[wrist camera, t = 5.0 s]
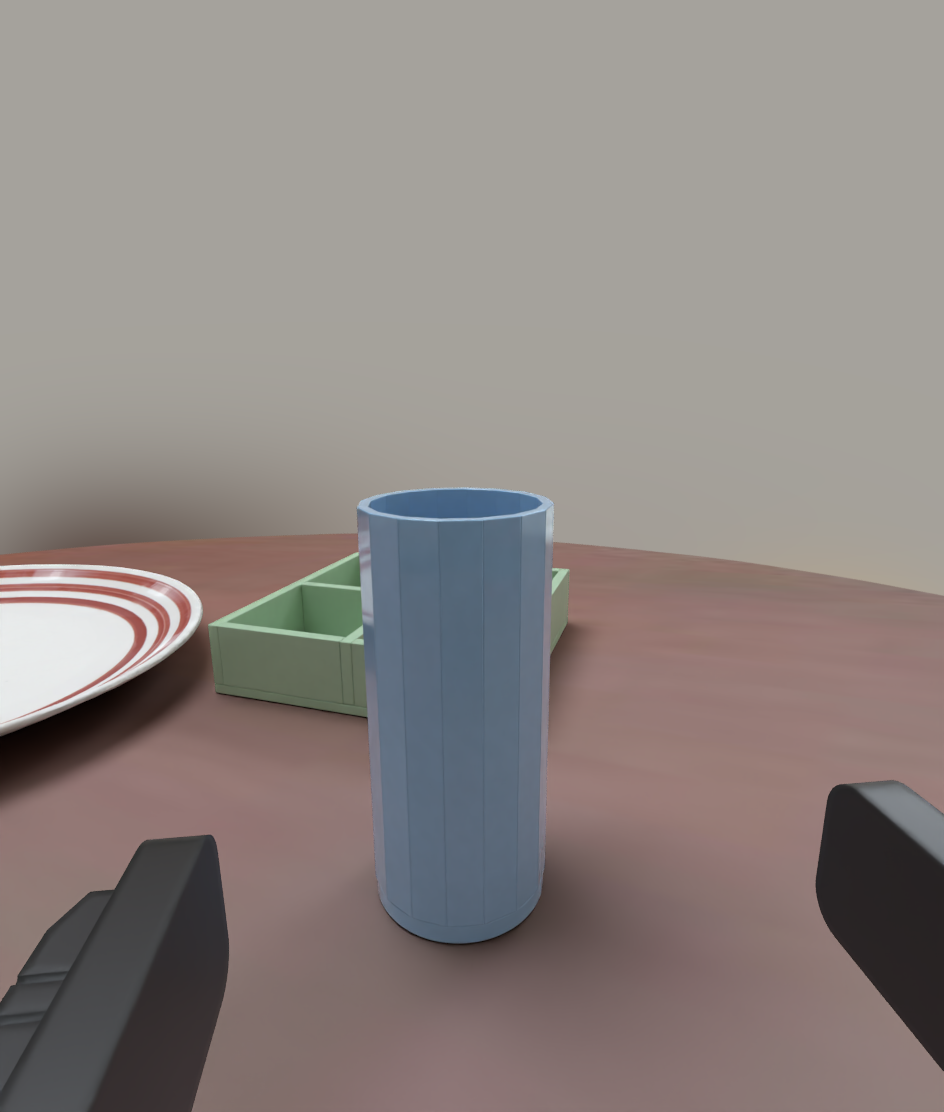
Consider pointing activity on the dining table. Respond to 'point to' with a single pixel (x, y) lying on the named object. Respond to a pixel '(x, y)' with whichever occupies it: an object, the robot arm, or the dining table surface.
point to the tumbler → (457, 704)
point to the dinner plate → (83, 634)
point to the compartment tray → (314, 641)
